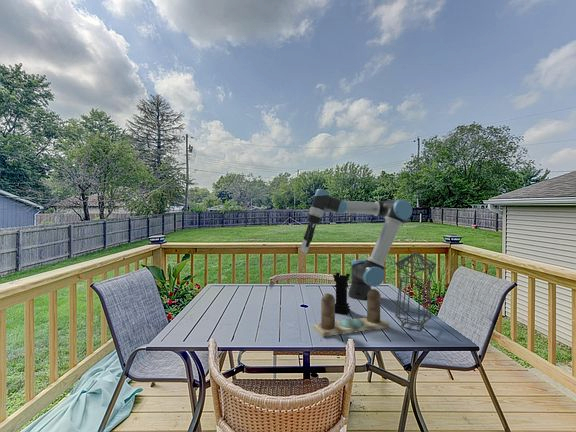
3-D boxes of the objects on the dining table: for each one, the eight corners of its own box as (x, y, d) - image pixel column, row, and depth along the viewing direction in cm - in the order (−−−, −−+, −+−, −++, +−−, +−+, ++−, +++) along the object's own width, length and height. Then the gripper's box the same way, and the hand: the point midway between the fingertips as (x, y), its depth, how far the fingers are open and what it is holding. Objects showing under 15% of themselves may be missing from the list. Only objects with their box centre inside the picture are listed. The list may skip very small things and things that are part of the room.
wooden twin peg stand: (375, 319, 150) (375, 285, 150) (389, 327, 140) (390, 291, 139) (312, 328, 139) (312, 291, 139) (323, 337, 128) (323, 298, 128)
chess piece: (350, 310, 164) (350, 273, 164) (346, 314, 157) (347, 276, 157) (336, 308, 168) (336, 272, 167) (331, 312, 160) (332, 275, 160)
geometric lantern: (401, 318, 152) (404, 249, 152) (435, 326, 142) (438, 252, 142) (389, 327, 140) (392, 252, 139) (425, 337, 130) (429, 256, 129)
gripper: (306, 214, 184) (295, 247, 183) (311, 212, 159) (298, 251, 158) (317, 218, 184) (307, 251, 183) (324, 217, 159) (312, 255, 158)
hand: (303, 251), depth 170 cm, fingers open, 13 cm apart
